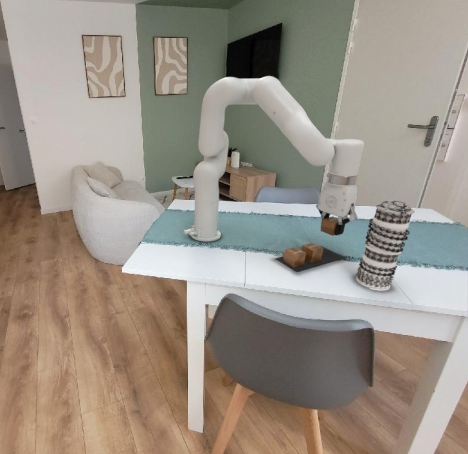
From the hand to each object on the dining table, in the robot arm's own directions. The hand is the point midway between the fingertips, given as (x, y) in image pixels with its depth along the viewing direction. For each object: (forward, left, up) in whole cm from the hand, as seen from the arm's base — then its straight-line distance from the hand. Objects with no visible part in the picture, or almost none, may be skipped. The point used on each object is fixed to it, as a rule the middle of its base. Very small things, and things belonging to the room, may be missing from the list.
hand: (331, 231), depth 100 cm
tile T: (0, 0, 0) cm, 0 cm away
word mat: (-8, 0, -9) cm, 12 cm away
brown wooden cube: (-15, 0, -9) cm, 17 cm away
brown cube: (-8, 0, -9) cm, 12 cm away
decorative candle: (-3, -18, -9) cm, 20 cm away
